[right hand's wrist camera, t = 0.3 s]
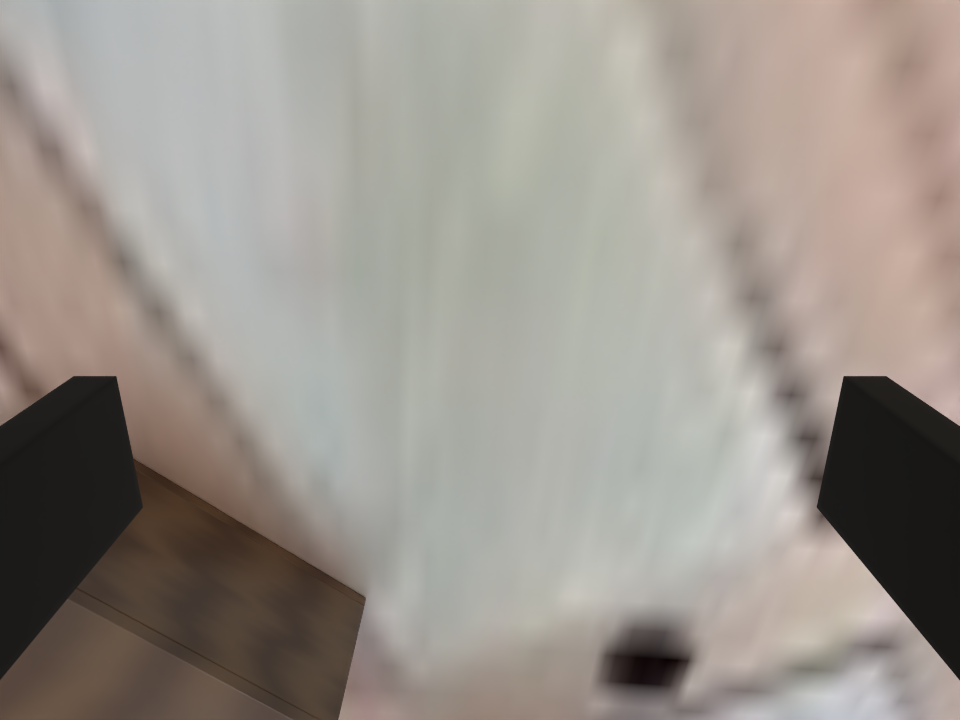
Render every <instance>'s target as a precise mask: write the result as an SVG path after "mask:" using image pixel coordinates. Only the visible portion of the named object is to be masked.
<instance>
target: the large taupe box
mask: <svg viewBox="0 0 960 720" xmlns="http://www.w3.org/2000/svg"><path fill="white" fill-rule="evenodd" d="M133 460H134V459H133ZM134 465H135V470H136V475H137V480H138V485H139V489H140V494H141V499H142V504H143V508H142V509H141V511H140V512H139V513H138V514H137V515H136V517H135V518H134V519H133V520H132V521H131V523H130V524H129V525H128V526H127V527H126V529H125V530H124V531H123V532H122V534H121V535H120V536H119V537H118V538H117V540H116V541H115V542H114V543H113V544H112V546H111V547H110V548H109V549H108V550H107V552H106V553H105V554H104V555H103V556H102V558H101V559H100V560H99V561H98V563H97V564H96V565H95V566H94V567H93V569H92V570H91V571H90V572H89V573H88V575H87V576H86V577H85V578H84V579H83V581H82V582H81V583H80V584H79V586H78V587H77V588H76V589H75V590H74V592H73V593H72V594H71V595H70V596H69V598H68V599H67V600H66V601H65V602H64V604H63V605H62V606H61V607H60V608H59V610H58V611H57V612H56V613H55V615H54V616H53V617H52V618H51V619H50V621H49V622H48V623H47V624H46V625H45V627H44V628H43V629H42V630H41V631H40V633H39V634H38V635H37V636H36V638H35V639H34V640H33V641H32V642H31V644H30V645H29V646H28V647H27V648H26V650H25V651H24V652H23V653H22V654H21V656H20V657H19V658H18V659H17V660H16V662H15V663H14V664H13V665H12V667H11V668H10V669H9V670H8V671H7V673H6V674H5V675H4V676H3V677H2V679H1V680H0V720H338V718H339V714H340V709H341V705H342V701H343V696H344V692H345V688H346V683H347V679H348V675H349V670H350V666H351V662H352V657H353V653H354V648H355V644H356V640H357V635H358V631H359V627H360V622H361V618H362V614H363V609H364V605H365V600H366V598H364V597H363V596H361V595H359V594H358V593H356V592H354V591H353V590H351V589H349V588H348V587H346V586H344V585H343V584H341V583H339V582H338V581H336V580H334V579H333V578H331V577H329V576H328V575H326V574H324V573H323V572H321V571H319V570H318V569H316V568H314V567H313V566H311V565H309V564H308V563H306V562H304V561H303V560H301V559H299V558H298V557H296V556H294V555H293V554H291V553H289V552H288V551H286V550H284V549H283V548H281V547H279V546H278V545H276V544H274V543H273V542H271V541H269V540H268V539H266V538H264V537H262V536H261V535H259V534H257V533H256V532H254V531H252V530H251V529H249V528H247V527H246V526H244V525H242V524H241V523H239V522H237V521H236V520H234V519H232V518H231V517H229V516H227V515H226V514H224V513H222V512H221V511H219V510H217V509H216V508H214V507H212V506H211V505H209V504H207V503H206V502H204V501H202V500H201V499H199V498H197V497H196V496H194V495H192V494H191V493H189V492H187V491H186V490H184V489H182V488H181V487H179V486H177V485H176V484H174V483H172V482H171V481H169V480H167V479H166V478H164V477H162V476H161V475H159V474H157V473H156V472H154V471H152V470H151V469H149V468H147V467H146V466H144V465H142V464H141V463H139V462H137V461H136V460H134Z"/></svg>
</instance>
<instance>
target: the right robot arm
mask: <svg viewBox="0 0 960 720" xmlns="http://www.w3.org/2000/svg"><path fill="white" fill-rule="evenodd" d="M142 508H143V504H142V499H141V494H140V489H139V485H138V480H137V475H136V470H135V465H134V460H133V455H132V451H131V446H130V441H129V436H128V431H127V426H126V421H125V416H124V412H123V407H122V402H121V397H120V392H119V387H118V382H117V378H116V376H73V377H72V378H71V379H69V380H68V381H66V382H65V383H63V384H62V385H60V386H59V387H57V388H56V389H54V390H53V391H51V392H50V393H48V394H47V395H46V396H44V397H43V398H41V399H40V400H38V401H37V402H35V403H34V404H32V405H31V406H29V407H28V408H26V409H25V410H23V411H22V412H21V413H19V414H18V415H16V416H15V417H13V418H12V419H10V420H9V421H7V422H6V423H4V424H3V425H1V426H0V680H1V679H2V677H3V676H4V675H5V674H6V673H7V671H8V670H9V669H10V668H11V667H12V665H13V664H14V663H15V662H16V660H17V659H18V658H19V657H20V656H21V654H22V653H23V652H24V651H25V650H26V648H27V647H28V646H29V645H30V644H31V642H32V641H33V640H34V639H35V638H36V636H37V635H38V634H39V633H40V631H41V630H42V629H43V628H44V627H45V625H46V624H47V623H48V622H49V621H50V619H51V618H52V617H53V616H54V615H55V613H56V612H57V611H58V610H59V608H60V607H61V606H62V605H63V604H64V602H65V601H66V600H67V599H68V598H69V596H70V595H71V594H72V593H73V592H74V590H75V589H76V588H77V587H78V586H79V584H80V583H81V582H82V581H83V579H84V578H85V577H86V576H87V575H88V573H89V572H90V571H91V570H92V569H93V567H94V566H95V565H96V564H97V563H98V561H99V560H100V559H101V558H102V556H103V555H104V554H105V553H106V552H107V550H108V549H109V548H110V547H111V546H112V544H113V543H114V542H115V541H116V540H117V538H118V537H119V536H120V535H121V534H122V532H123V531H124V530H125V529H126V527H127V526H128V525H129V524H130V523H131V521H132V520H133V519H134V518H135V517H136V515H137V514H138V513H139V512H140V511H141V509H142ZM817 508H818V509H819V511H820V512H821V513H822V514H823V515H824V517H825V518H826V519H827V520H828V521H829V523H830V524H831V525H832V526H833V527H834V529H835V530H836V531H837V532H838V534H839V535H840V536H841V537H842V538H843V540H844V541H845V542H846V543H847V544H848V546H849V547H850V548H851V549H852V550H853V552H854V553H855V554H856V555H857V556H858V558H859V559H860V560H861V561H862V563H863V564H864V565H865V566H866V567H867V569H868V570H869V571H870V572H871V573H872V575H873V576H874V577H875V578H876V579H877V581H878V582H879V583H880V584H881V586H882V587H883V588H884V589H885V590H886V592H887V593H888V594H889V595H890V596H891V598H892V599H893V600H894V601H895V602H896V604H897V605H898V606H899V607H900V608H901V610H902V611H903V612H904V613H905V615H906V616H907V617H908V618H909V619H910V621H911V622H912V623H913V624H914V625H915V627H916V628H917V629H918V630H919V631H920V633H921V634H922V635H923V636H924V638H925V639H926V640H927V641H928V642H929V644H930V645H931V646H932V647H933V648H934V650H935V651H936V652H937V653H938V654H939V656H940V657H941V658H942V659H943V660H944V662H945V663H946V664H947V665H948V667H949V668H950V669H951V670H952V671H953V673H954V674H955V675H956V676H957V677H958V679H959V680H960V426H959V425H957V424H956V423H954V422H953V421H951V420H950V419H948V418H947V417H945V416H944V415H942V414H941V413H939V412H938V411H937V410H935V409H934V408H932V407H931V406H929V405H928V404H926V403H925V402H923V401H922V400H920V399H919V398H917V397H916V396H914V395H913V394H912V393H910V392H909V391H907V390H906V389H904V388H903V387H901V386H900V385H898V384H897V383H895V382H894V381H892V380H891V379H889V378H888V377H887V376H844V378H843V382H842V387H841V392H840V397H839V402H838V407H837V412H836V416H835V421H834V426H833V431H832V436H831V441H830V446H829V450H828V455H827V460H826V465H825V470H824V475H823V480H822V485H821V489H820V494H819V499H818V504H817Z"/></svg>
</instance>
